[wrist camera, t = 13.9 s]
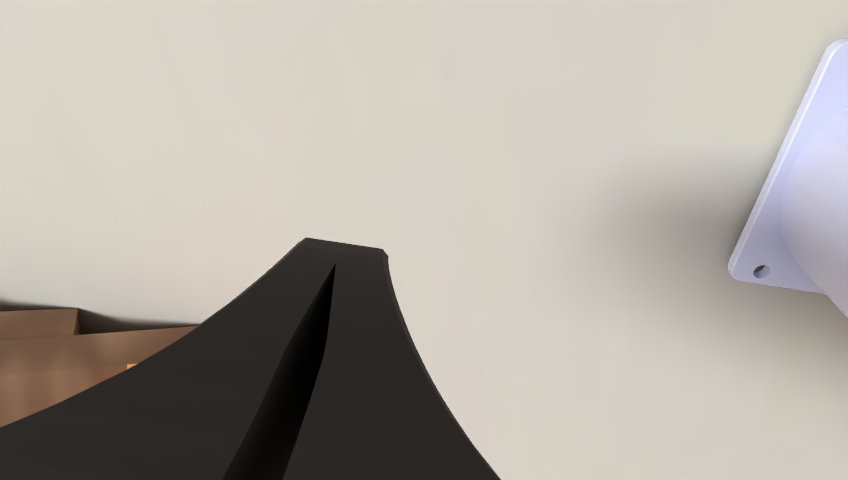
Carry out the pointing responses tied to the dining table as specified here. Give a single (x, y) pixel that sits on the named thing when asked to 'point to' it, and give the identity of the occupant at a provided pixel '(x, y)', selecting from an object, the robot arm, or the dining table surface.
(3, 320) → the tile
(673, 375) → the dining table surface
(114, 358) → the tile
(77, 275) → the dining table surface
